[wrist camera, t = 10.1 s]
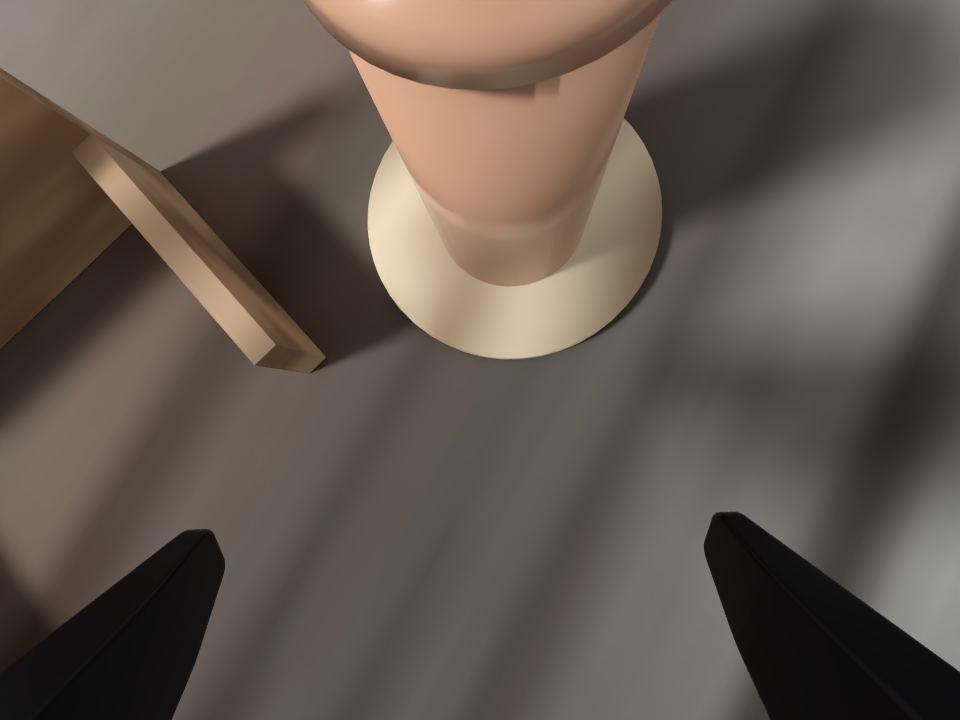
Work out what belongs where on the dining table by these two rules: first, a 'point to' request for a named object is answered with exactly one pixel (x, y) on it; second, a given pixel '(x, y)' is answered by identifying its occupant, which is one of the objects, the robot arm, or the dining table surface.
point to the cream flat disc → (528, 308)
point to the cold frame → (114, 228)
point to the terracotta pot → (500, 113)
